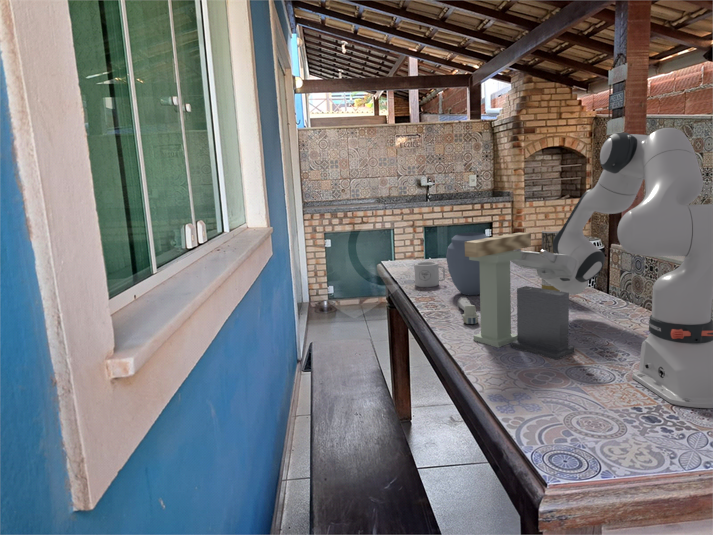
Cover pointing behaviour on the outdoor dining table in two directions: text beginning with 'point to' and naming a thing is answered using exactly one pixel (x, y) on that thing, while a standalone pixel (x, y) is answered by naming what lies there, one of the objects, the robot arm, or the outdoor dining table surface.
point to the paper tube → (548, 246)
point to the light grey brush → (468, 311)
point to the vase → (464, 264)
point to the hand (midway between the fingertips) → (528, 251)
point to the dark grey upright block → (543, 322)
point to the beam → (497, 244)
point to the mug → (427, 274)
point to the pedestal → (495, 298)
